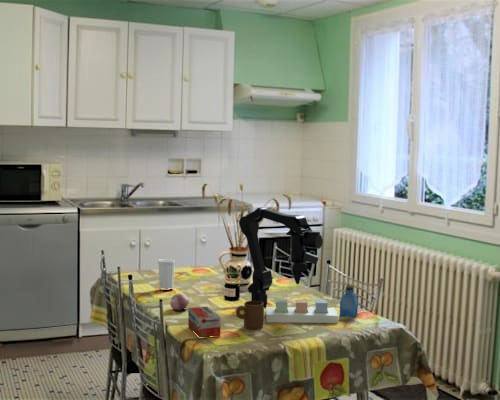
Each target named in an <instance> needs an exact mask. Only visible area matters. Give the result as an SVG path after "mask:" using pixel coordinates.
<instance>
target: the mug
mask: <svg viewBox="0 0 500 400" xmlns="http://www.w3.org/2000/svg"><path fill="white" fill-rule="evenodd" d="M264 309H265V307H264V304H263V302H260V301H251V300H246V301H245V302H244V304H243V305H239V306H238V307H237V308H236V310H235V315H236V317H237V318H238V319H241V320H243V326H244V328H245V329H247V330H260V329H263V327H264V321H265V320H264V319H265V317H264V315H265V314H264V313H265V310H264ZM241 311H243V313H241Z"/></svg>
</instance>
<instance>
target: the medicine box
mask: <svg viewBox="0 0 500 400" xmlns="http://www.w3.org/2000/svg"><path fill="white" fill-rule="evenodd" d="M187 309H188V317H187V319H188V321H187V322H188V323H187V325H188V326H189V328H190V329H191V330H192V331H194V332H195V333H196V334H197V335H198V336H199V337H208V338H211V337H210V336H220V337H221V315H219V314H218V313H217V312H215V311H214V310H213V309H212V308H211V307H209V306H207V305H206V306H198V307H197V306H196V307H188V308H187ZM188 326H187V327H188ZM189 328H188V329H189ZM190 329H189V330H190ZM191 330H190V331H191ZM192 331H191V332H192Z"/></svg>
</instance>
